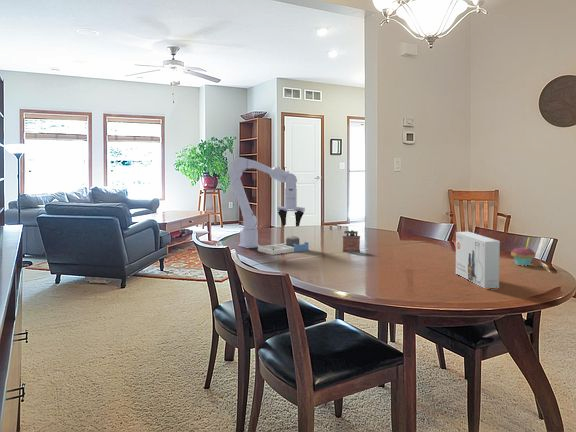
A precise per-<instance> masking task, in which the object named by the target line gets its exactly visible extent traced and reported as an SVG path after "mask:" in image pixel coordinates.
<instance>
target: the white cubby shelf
mask: <svg viewBox="0 0 576 432" xmlns="http://www.w3.org/2000/svg"><path fill="white" fill-rule="evenodd" d="M293 245H294V247H291V246H287V245H286V242H285V243H277V244H269V245H268V244H267V245H261V246H260V247H257V252H260V253H263V254H267V255H272V256H274V255H278V254H279V255H281V253H282V254H287V253H297V252H304V251H309V246H310V245H309V242H307V241H305V242H304V243H303V244H302V243H299V245H297V244H293ZM273 249H274V250H273Z"/></svg>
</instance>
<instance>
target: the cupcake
mask: <svg viewBox="0 0 576 432" xmlns="http://www.w3.org/2000/svg"><path fill="white" fill-rule="evenodd" d="M530 236H531V235H529V237H527V241H526V244H525V245H526V246H525V247H516V248H513V249H512V250H511V253H510V256H512V257H513V260H514V263H515V265H516V264H521V265H529V266H530V265H531V262H532V261H533V259H534V258H536V252H535V251H534V250H532V249H531V248H529V243H530V240H531V239H530Z"/></svg>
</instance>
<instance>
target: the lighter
mask: <svg viewBox="0 0 576 432" xmlns="http://www.w3.org/2000/svg"><path fill="white" fill-rule="evenodd" d="M343 233H344V234H345V235H342V250H341V251H342V253H354V254H355V253H360V252H361V249H360V247H361V246H360V245H361V244H360V243H361V235H358V231H355V230H352V229H351V230H344V231H343Z"/></svg>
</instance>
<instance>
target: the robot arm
mask: <svg viewBox="0 0 576 432" xmlns="http://www.w3.org/2000/svg"><path fill="white" fill-rule="evenodd" d="M248 169H256V170H258V171H261V172H263V173H266V174H268V175H269V177H270V178H271V179H274V180H275V181H278V182H280V183H285V188H284V206H280V205H279V206H277V209H276V210H277V214H278V215H279V217H280V220H281V224H282V226H287V225H286V224H287V213H288V212H294V216H295V226H296V227H300V224H301V220H302V218H303V215H305V214H304V213H305V209H306V208H305V207H303V206H302V207H299V206H297V205H298V204H297V203H298V202H297V201H298V200H297V198H298V197H297V196H298V194H297V193H298V192H297V182H298V179H297V176H296V175H295V174H294V173H292V172H291V173H290V171H288V170H287V171H286V170H284V169H281V167H280V166H273V167H270V166H267V165H266V164H263V163H261V162H259V161H257V160H253V159H249V158H246V157H241V156H240V157H237V158H235V160H234V161H233V162H232V164H231V170H230V173H229V179H230V183H231V185H232V186H231V187H232V188H233V191H234V194H235V198H236V200H237V203H238V205H239V208H240V211H241V216H242V218H243V219H242V225H243V228H241V230H240V231H239V244H238V245H237V246H238V247H241V248H246V249H253V248H258V247H260V246H262V245H260V244H259V243H258V242H259V239H258V236H259V235H258V234H259V233H258V232H259V230H258V229H259V228H258V227H257V224H258V218H257V217H256V215H255V214H254V212H253V210H252V208H251V206H250V202H249V199H248V196H247V194H246V191H245V188H244V185H243V182H242V180H241V177H242V176H243V173H244V172H245V171H246V170H248Z"/></svg>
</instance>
